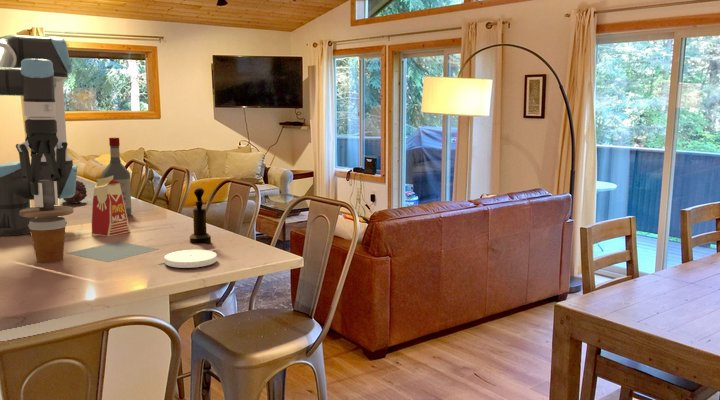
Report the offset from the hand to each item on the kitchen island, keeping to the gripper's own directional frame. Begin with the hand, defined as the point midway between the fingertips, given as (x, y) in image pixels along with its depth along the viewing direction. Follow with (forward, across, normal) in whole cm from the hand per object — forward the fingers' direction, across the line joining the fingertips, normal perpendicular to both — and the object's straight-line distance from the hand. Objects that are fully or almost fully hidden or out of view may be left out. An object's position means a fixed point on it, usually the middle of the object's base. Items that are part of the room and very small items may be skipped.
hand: (46, 205), depth 164 cm
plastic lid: (+16, +20, -33) cm, 42 cm away
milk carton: (+16, +32, +16) cm, 39 cm away
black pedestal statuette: (+16, +39, -18) cm, 46 cm away
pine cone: (+16, +65, +81) cm, 105 cm away
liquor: (+16, +57, +43) cm, 73 cm away
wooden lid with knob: (+2, 0, 0) cm, 2 cm away
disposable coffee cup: (+16, 0, 0) cm, 16 cm away
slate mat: (+16, +16, -6) cm, 23 cm away
